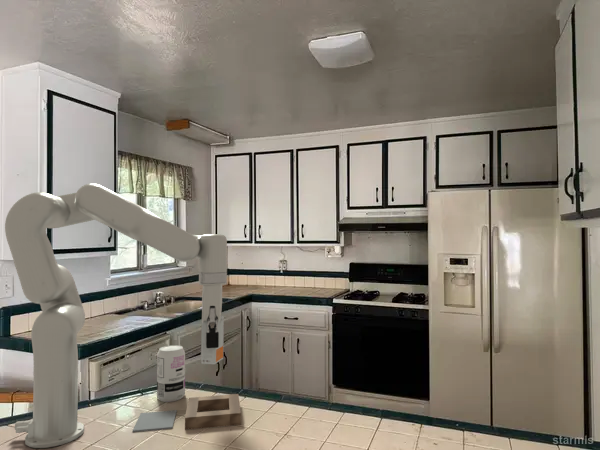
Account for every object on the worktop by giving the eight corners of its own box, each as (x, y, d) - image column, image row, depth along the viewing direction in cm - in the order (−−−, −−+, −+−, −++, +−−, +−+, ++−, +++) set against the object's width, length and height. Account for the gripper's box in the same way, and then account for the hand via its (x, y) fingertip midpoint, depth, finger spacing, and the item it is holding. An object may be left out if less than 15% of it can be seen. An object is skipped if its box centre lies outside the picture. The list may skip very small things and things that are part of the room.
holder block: (184, 429, 106) (184, 417, 106) (188, 408, 120) (188, 397, 120) (240, 424, 108) (240, 412, 109) (238, 404, 122) (238, 393, 122)
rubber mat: (132, 432, 105) (132, 430, 105) (140, 414, 116) (140, 413, 116) (172, 428, 107) (172, 426, 107) (176, 411, 117) (176, 410, 117)
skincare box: (215, 365, 111) (215, 319, 112) (200, 364, 112) (200, 319, 113) (224, 358, 117) (224, 315, 118) (209, 358, 118) (210, 315, 118)
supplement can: (164, 392, 133) (164, 344, 133) (189, 393, 132) (189, 345, 132) (151, 402, 125) (152, 351, 125) (178, 403, 124) (178, 351, 124)
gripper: (200, 276, 123) (200, 337, 123) (197, 282, 106) (196, 353, 106) (226, 276, 125) (226, 336, 124) (227, 281, 108) (227, 351, 107)
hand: (212, 343), depth 115 cm, fingers closed on skincare box, 7 cm apart
